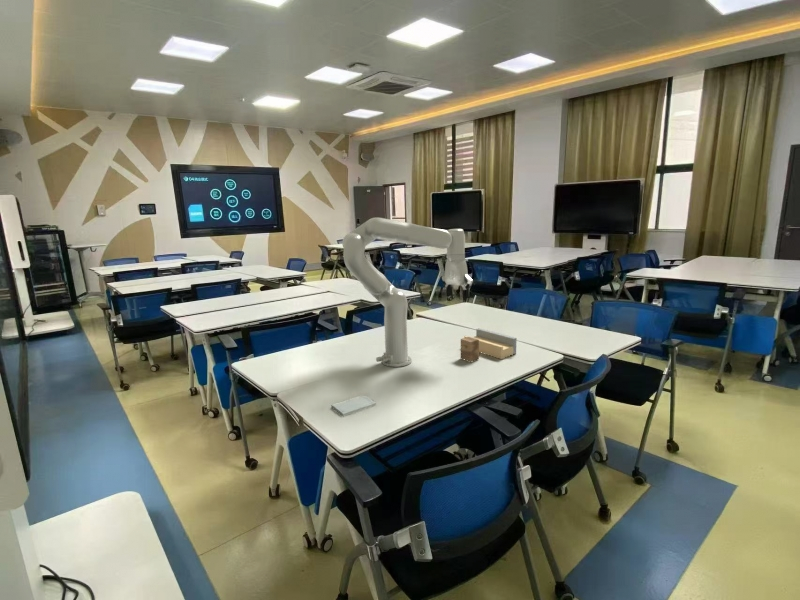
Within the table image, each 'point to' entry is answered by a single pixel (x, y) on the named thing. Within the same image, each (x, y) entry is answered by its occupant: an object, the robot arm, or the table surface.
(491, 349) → the cleat board
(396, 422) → the table surface
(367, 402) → the hard drive
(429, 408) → the table surface
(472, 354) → the cabinet block
